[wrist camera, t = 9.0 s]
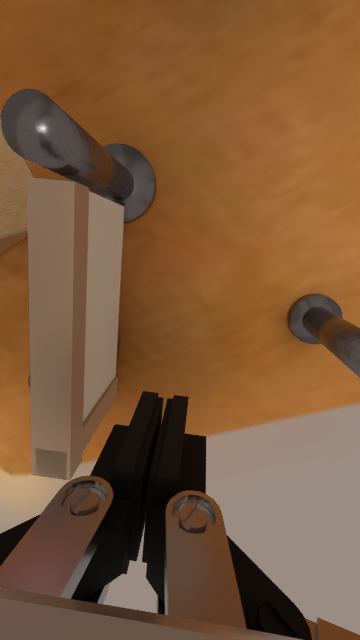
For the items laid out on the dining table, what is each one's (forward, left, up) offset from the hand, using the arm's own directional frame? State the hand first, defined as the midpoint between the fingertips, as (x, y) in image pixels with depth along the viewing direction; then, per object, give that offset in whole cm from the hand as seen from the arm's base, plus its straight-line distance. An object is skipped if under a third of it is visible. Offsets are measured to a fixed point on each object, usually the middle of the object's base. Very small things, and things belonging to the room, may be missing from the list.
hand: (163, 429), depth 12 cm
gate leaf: (-6, -1, -13) cm, 14 cm away
